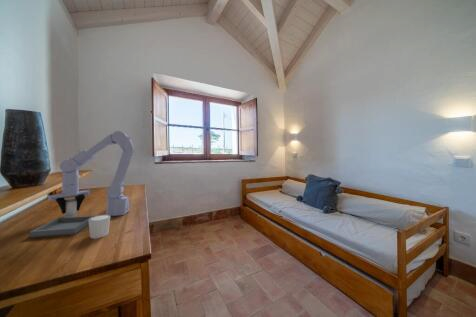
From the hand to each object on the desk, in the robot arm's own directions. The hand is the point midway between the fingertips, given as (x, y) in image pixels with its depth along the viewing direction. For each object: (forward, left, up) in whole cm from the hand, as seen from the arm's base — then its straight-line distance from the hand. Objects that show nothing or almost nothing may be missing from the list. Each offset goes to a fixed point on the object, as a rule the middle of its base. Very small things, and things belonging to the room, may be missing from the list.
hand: (70, 211), depth 82 cm
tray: (-6, +13, -3) cm, 15 cm away
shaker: (0, 0, -2) cm, 2 cm away
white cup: (-22, +22, -3) cm, 31 cm away
